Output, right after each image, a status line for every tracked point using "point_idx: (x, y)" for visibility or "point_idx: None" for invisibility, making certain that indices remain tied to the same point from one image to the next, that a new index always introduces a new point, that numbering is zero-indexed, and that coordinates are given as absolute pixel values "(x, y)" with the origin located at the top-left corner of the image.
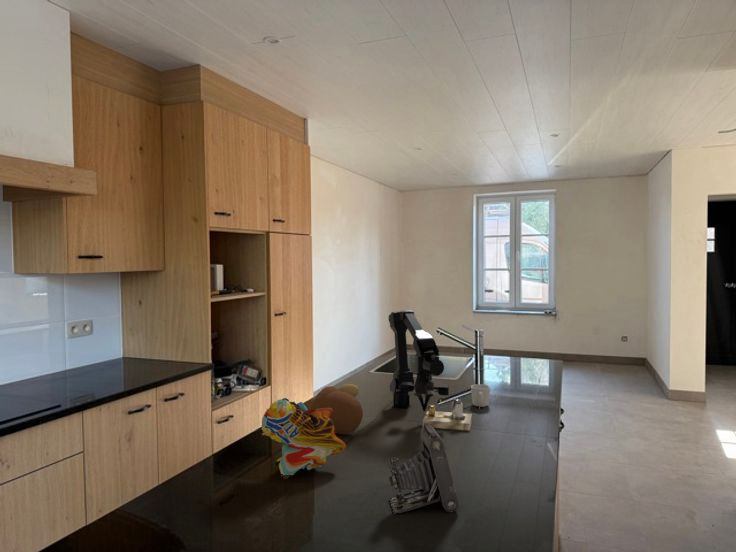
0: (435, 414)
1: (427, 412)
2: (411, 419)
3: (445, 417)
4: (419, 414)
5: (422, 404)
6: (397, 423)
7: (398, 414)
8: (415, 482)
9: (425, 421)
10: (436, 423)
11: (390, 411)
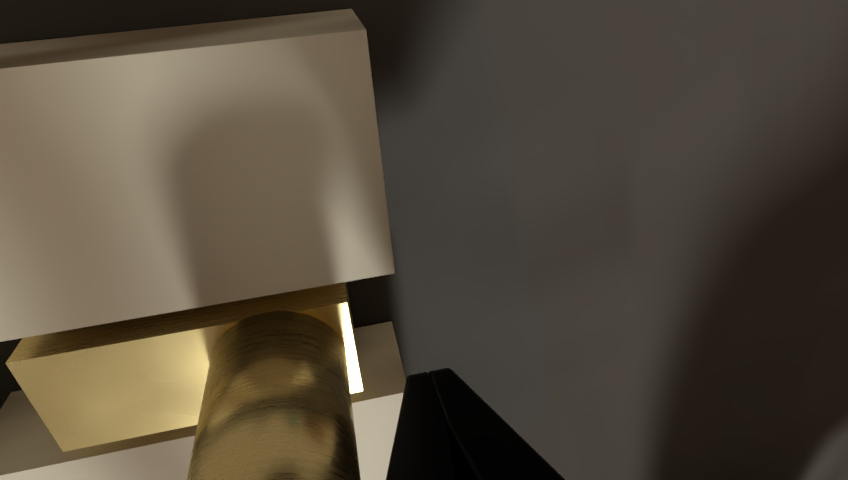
0: None
1: None
2: (589, 280)
3: None
4: None
5: (516, 478)
6: (783, 34)
7: (744, 367)
8: None
9: (293, 32)
10: (18, 55)
11: (816, 405)
